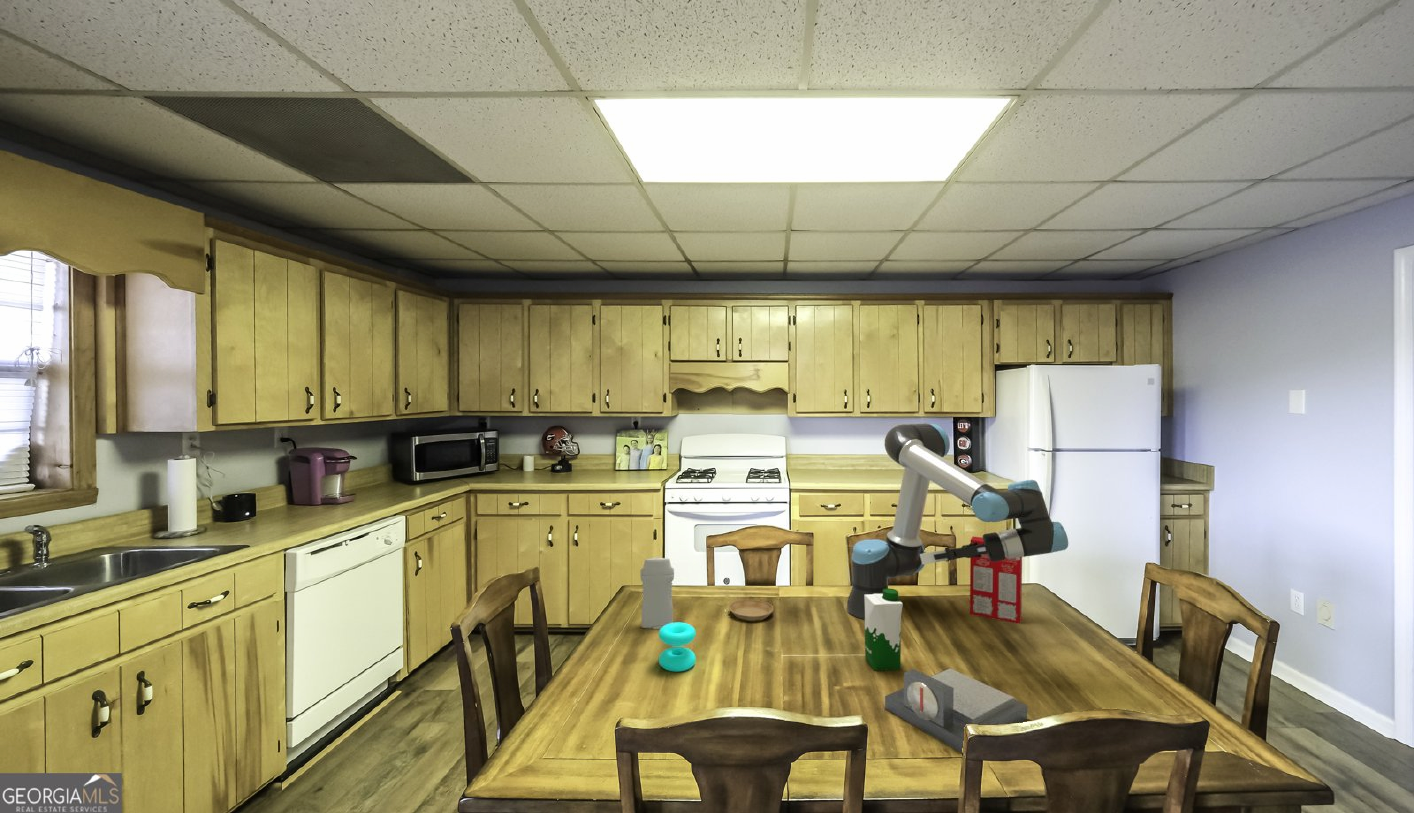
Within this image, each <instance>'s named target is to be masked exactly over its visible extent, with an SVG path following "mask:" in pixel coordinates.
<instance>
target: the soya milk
mask: <svg viewBox="0 0 1414 813" xmlns="http://www.w3.org/2000/svg"><path fill="white" fill-rule="evenodd" d="M864 598H865V619H864V654H865V655H864V656H865V661H867V663H868V664H869V665H870V666H871V668H872V669H873V670H874V671H897V670H899V671H900V670H901V669H902V668H901V665H902V664H901V663H902V660H901V655H902V654H901V652H902V650H901V649H902V648H901V647H902V646H901V642H902V640H901V639H902V636H901V635H902V634H901V633H902V629H901V628H902V626H901V625H902V613H903V602H902V600H900V598H899V591H898V590H897V589H894V588H889V587H888V588H886V589H883V594H867V595H864Z"/></svg>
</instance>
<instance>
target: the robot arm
mask: <svg viewBox="0 0 1414 813" xmlns="http://www.w3.org/2000/svg"><path fill="white" fill-rule="evenodd" d="M950 444H951V441H950V437H949V435H948V434H947V433H946V430H945V429H944V428H943V427H941V426H940V425H938V424H935V423H926V422H924V423H913V424H912V423H911V424H910V423H909V424H903V423H902V424H898V425H896V426H893V427H892V428H891V429H890V430H889V431H888V432H887V433H886V436H885V438H884V449H885V451H886V453H887V455H888V457H889V458H890V459H892V460H893V461H894V462H895V463H896V464H898V465H899V466H901V467H902V468H903V474H902V479H901V485H900V488H899V489H900V490H899V496H898V500H897V506H896V512H895V516H894V521H893V526H892V529H891V530H890V531H888V532H887V533H886V537H885V540H882V539H877V538H876V539H875V538H873V539H862V540H859V541H858V542H856V543H855V544H854V545H853V547H852V554H851V561H852V562H851V563H852V564H851V565H852V570H851V571H852V573H851V574H852V579H851V580H852V581H851V582H852V585H851V590H850V593H849V596H848V599H847V602H846V611H847V612H848V614H850V615H852V616H853V617H856V618H859V619H864V620H865V598H864V595H867V594H883V589H886V588H889V579H894V578H898V577H899V578H900V577H903V576H911V575H913V574H917V573H919V572H921V571H922V569H924V567H925V565H927V564H934V563H939V562H946V563H947V562H950V561H955V560H957V559H962V558H963V559H964V558H965V559H970V558H973V557H974V558H978V557H982V556H981V554H984V555H985V554H987V555H988V558H989V560H990V561H991V562H996V561H1002V560H1004V559H1005V557H1006V558H1007V559H1013V558H1015V557H1016V560H1020V557H1022V558H1025V557H1026V558H1027V557H1033V556H1040V555H1046V554H1047V555H1048V554H1052V553H1058V552H1062V551H1065V550H1066V549H1068V547H1069V538H1068V534H1067V532H1066V530H1065V527H1064V526H1063V524H1062V523H1061V522H1059V521H1052V519H1051V517H1050V514H1049V511H1048V507H1047V504H1046V502H1045V499H1044V495H1043V492H1042V490H1041V488H1040V486H1039V484H1038V482H1037V481H1036V480H1035V479H1025V480H1022V481H1021V480H1020V481H1016V482H1013V483H1009V484H1008V485H1007V490H998V489H997V488H995V487H993V486H991V485H990V484H988V483H986V482H985V481H983V480H982V479H979V478H978V477H977V476H974V475H972V473H969V472H968V471H966V470H964V469H963V468H961V467H959V466H958V465H956V464H955V463H952V462H951V461H949V460H947V459H946V458H944V457H945V456H947V455H948V454H949V451H950V448H951V447H950V446H951V445H950ZM930 482H932V483H934V484H936V486H939V487H941V488H942V489H943V490H944V491H946V492H948V493H949V494H951V495H952V496H954V497H956V498H958V499H959V500H961V501H962V502H963V503H965V504H967V506H968V505H969V506H970V507H971V510H972V512H973V513H974V515H975V517H976V518H977V519H978V520H979V521H982V522H985V523H999V522H1002V521H1009V520H1014V519H1017V521H1018V524H1019V525H1020V527H1019V528H1009V529H1007V530H1006V529H1004V530H1000V531H998V532H996V531H995V532H990V533H989V532H988V533H984V534H983V535H982V538H983V542H984V544H981V545H979V544H978V543H977V542H976V543H971V542H970V543H969V544H964V545H962V546H961V547H957V548H955V547H954V548H950V547H949V546H947V547H944V550H943V549H942V550H936V551H930V552H925V549H926V548H925V547H924V545H923V541H922V539H921V537H920V536H919V535H920V531H921V526H922V521H923V516H924V511H925V507H926V501H927V497H928V491H929V488H930V487H929V486H930ZM1019 556H1020V557H1019Z"/></svg>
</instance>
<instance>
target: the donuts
mask: <svg viewBox="0 0 1414 813" xmlns="http://www.w3.org/2000/svg"><path fill="white" fill-rule="evenodd" d="M696 634H697V633H696V629H695V627H694V626H692V625H691V624H689V623H686V622H676V621H675V622H673V623H669V624H667V625H664V626H663V627H662V628H661V629H659V632H658V638H659V640H660V641H661V642H662V643H663V644H666V645H668V646H671V647H669V648H666V649H664V650H663V651H662V652H661V653H660V654H659V657H658V663H659V665H660V666H661V667H662V668H663V669H664V670H666V671H670V672H679V673H680V672H684V671H687V670H689V669H691V668H693V666H694V665H695V664H696V660H697V659H696V655H695V652H693V651H692V650H691V649H690V648H688V647H684V646H686V645H688V644H690V643H692V642H693V641H694V639H695V638H696Z"/></svg>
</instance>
